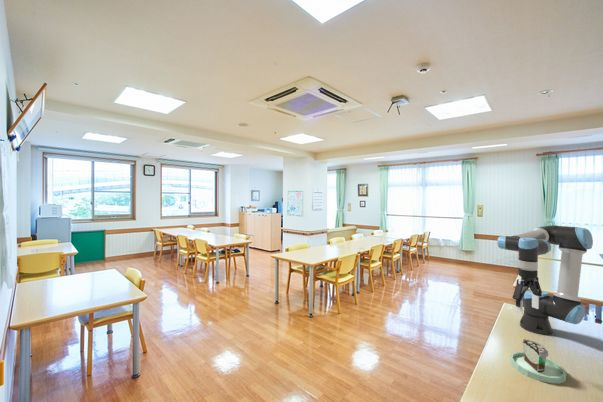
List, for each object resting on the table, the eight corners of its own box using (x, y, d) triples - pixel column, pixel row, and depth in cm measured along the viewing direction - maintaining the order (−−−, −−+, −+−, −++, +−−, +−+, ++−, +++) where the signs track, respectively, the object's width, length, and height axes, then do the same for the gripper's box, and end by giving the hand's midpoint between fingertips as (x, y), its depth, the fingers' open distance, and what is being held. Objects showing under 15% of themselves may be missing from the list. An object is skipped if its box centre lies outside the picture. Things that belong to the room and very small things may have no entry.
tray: (526, 353, 143) (526, 348, 143) (576, 377, 124) (576, 371, 124) (500, 361, 136) (500, 356, 136) (549, 388, 117) (549, 382, 117)
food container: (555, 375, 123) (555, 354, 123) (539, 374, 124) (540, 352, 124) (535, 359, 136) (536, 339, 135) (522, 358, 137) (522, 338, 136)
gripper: (533, 264, 146) (533, 303, 147) (504, 270, 137) (503, 312, 137) (551, 267, 139) (550, 308, 140) (521, 274, 130) (520, 318, 130)
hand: (527, 310), depth 139 cm, fingers open, 13 cm apart
